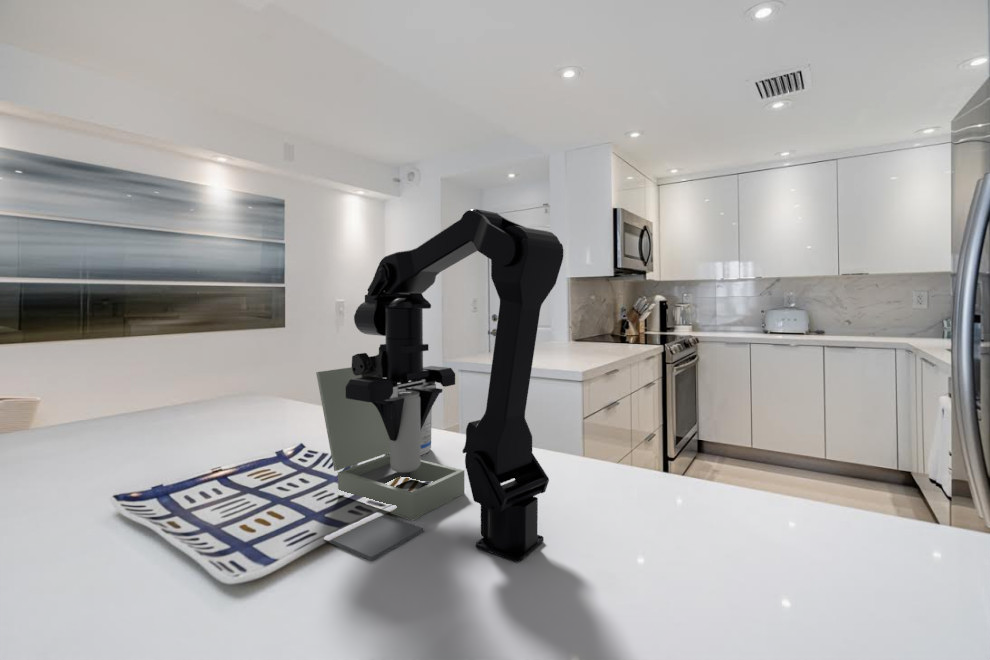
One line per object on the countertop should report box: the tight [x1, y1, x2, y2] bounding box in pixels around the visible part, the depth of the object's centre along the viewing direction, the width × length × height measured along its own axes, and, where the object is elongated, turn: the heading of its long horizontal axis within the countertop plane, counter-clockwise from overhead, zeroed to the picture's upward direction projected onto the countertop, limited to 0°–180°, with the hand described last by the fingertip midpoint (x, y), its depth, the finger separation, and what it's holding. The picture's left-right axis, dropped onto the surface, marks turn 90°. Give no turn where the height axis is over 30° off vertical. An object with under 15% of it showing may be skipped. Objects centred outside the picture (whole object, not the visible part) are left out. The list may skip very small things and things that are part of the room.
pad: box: [328, 514, 424, 562], centre depth 64 cm, size 9×9×1 cm
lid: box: [316, 366, 390, 472], centre depth 83 cm, size 16×12×1 cm
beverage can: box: [390, 391, 422, 472], centre depth 77 cm, size 5×5×12 cm
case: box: [337, 454, 465, 521], centre depth 78 cm, size 16×12×4 cm
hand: (405, 436), depth 77 cm, fingers closed on beverage can, 5 cm apart
